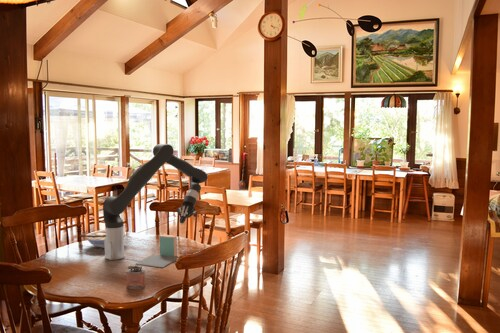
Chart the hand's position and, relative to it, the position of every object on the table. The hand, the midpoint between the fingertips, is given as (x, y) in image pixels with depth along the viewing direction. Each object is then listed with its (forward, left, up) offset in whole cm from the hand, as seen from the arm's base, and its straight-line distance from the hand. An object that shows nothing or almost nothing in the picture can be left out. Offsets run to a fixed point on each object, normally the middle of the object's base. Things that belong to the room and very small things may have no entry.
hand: (181, 222), depth 236 cm
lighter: (-52, -29, -15) cm, 62 cm away
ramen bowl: (-27, +36, -15) cm, 47 cm away
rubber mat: (-24, -9, -15) cm, 30 cm away
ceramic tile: (-14, -5, -15) cm, 21 cm away
